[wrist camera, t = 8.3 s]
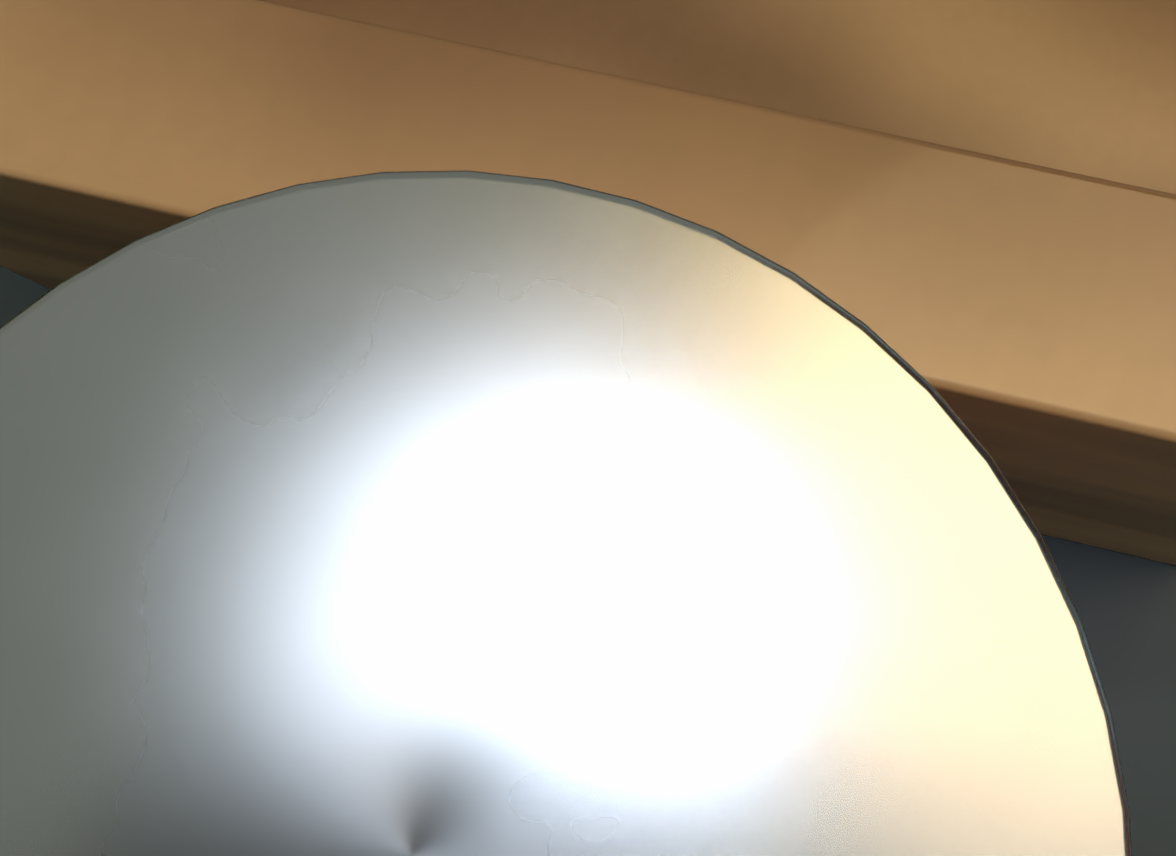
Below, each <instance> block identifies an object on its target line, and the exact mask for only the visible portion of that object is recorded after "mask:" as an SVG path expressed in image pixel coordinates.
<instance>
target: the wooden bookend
mask: <svg viewBox="0 0 1176 856" xmlns="http://www.w3.org/2000/svg"><path fill="white" fill-rule="evenodd" d="M457 170H470V171H479V172H488V173H497V174H506V175H515V176H524V177H533V178H542V179H551V180H556V181H560V182H564V183H568V184H572V185H577V186H581V187H585V188H589V189H593V190H597V191H601V192H605V193H609V194H614V195H618V196H622V197H626V198H630V199H634V200H638V201H640V202H643V203H645V204H648V205H651V206H653V207H656V208H658V209H661V210H664V211H666V212H669V213H671V214H674V215H677V216H679V217H682V218H684V219H687V220H690V221H692V222H695V223H697V224H700V225H703V226H705V227H708V228H711V229H713V230H716V231H718V232H720V233H722V234H724V235H725V236H727V237H729V238H731V239H733V240H735V241H737V242H738V243H740V244H742V245H744V246H746V247H748V248H750V249H751V250H753V251H755V252H757V253H759V254H761V255H763V256H764V257H766V258H768V259H770V260H772V261H774V262H776V263H777V264H779V265H781V266H783V267H785V268H787V269H789V270H790V271H792V272H794V273H796V274H797V275H798V276H800V277H801V278H803V279H804V280H805V281H807V282H808V283H810V284H811V285H812V286H814V287H815V288H817V289H818V290H819V291H821V292H822V293H823V294H825V295H826V296H828V297H829V298H830V299H832V300H833V301H835V302H836V303H837V304H839V305H840V306H842V307H843V308H844V309H846V310H847V311H849V312H850V313H851V314H853V315H854V316H856V317H857V318H858V319H860V320H861V321H862V322H864V323H865V324H867V325H868V326H869V327H870V328H871V329H872V330H873V331H874V332H875V333H876V334H877V335H879V336H880V337H881V338H882V339H883V340H884V341H885V342H886V343H887V344H888V345H889V346H890V347H891V348H892V349H894V350H895V351H896V352H897V353H898V354H899V355H900V356H901V357H902V358H903V359H904V360H905V361H906V362H907V363H909V364H910V365H911V366H912V367H913V368H914V369H915V370H916V371H917V372H918V373H919V374H920V375H921V376H922V377H924V378H925V379H926V380H927V381H928V382H929V383H930V384H931V385H932V386H933V387H934V388H935V389H936V391H937V392H938V393H939V394H940V395H941V397H942V398H943V399H944V400H945V401H946V403H947V404H948V405H949V406H950V407H951V409H952V410H953V411H954V412H955V413H956V415H957V416H958V417H959V418H960V419H961V421H962V422H963V423H964V424H965V425H966V427H967V428H968V429H969V430H970V431H971V433H972V434H973V435H974V436H975V437H976V439H977V440H978V441H979V442H980V444H981V445H982V446H983V447H984V448H985V450H986V451H987V452H988V453H989V454H990V456H991V457H992V458H993V460H994V462H995V463H996V465H997V466H998V468H999V469H1000V471H1001V473H1002V474H1003V476H1004V477H1005V479H1006V480H1007V482H1008V484H1009V485H1010V487H1011V488H1012V490H1013V491H1014V493H1015V495H1016V496H1017V498H1018V499H1019V501H1020V502H1021V504H1022V506H1023V507H1024V509H1025V510H1026V512H1027V513H1028V515H1029V517H1030V518H1031V520H1032V521H1033V523H1034V524H1035V526H1036V528H1037V529H1038V531H1039V532H1040V534H1044V535H1048V536H1052V537H1056V538H1061V539H1065V540H1069V541H1073V542H1078V543H1082V544H1086V545H1090V546H1095V547H1099V548H1103V549H1107V550H1112V551H1116V552H1120V553H1124V554H1129V555H1133V556H1137V557H1142V558H1146V559H1150V560H1154V561H1159V562H1163V563H1167V564H1171V565H1176V0H0V266H1V267H4V268H6V269H8V270H10V271H12V272H14V273H17V274H19V275H21V276H23V277H25V278H27V279H30V280H32V281H34V282H36V283H38V284H40V285H43V286H45V287H47V288H49V289H53V288H54V287H55V286H57V285H58V284H59V283H61V282H63V281H64V280H66V279H68V278H70V277H71V276H73V275H75V274H77V273H78V272H80V271H82V270H84V269H85V268H87V267H89V266H91V265H92V264H94V263H96V262H98V261H99V260H101V259H103V258H105V257H106V256H108V255H110V254H112V253H113V252H115V251H117V250H119V249H120V248H122V247H124V246H126V245H127V244H129V243H131V242H133V241H134V240H137V239H139V238H142V237H144V236H146V235H149V234H151V233H154V232H156V231H158V230H161V229H163V228H166V227H168V226H170V225H173V224H175V223H178V222H180V221H182V220H185V219H187V218H190V217H192V216H194V215H197V214H199V213H202V212H204V211H206V210H209V209H211V208H213V207H217V206H220V205H224V204H228V203H231V202H235V201H239V200H242V199H246V198H249V197H253V196H257V195H260V194H264V193H267V192H271V191H275V190H278V189H282V188H285V187H289V186H293V185H296V184H302V183H309V182H316V181H322V180H329V179H336V178H343V177H350V176H357V175H364V174H371V173H378V172H399V171H457Z"/></svg>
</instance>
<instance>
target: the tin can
mask: <svg viewBox="0 0 1176 856" xmlns="http://www.w3.org/2000/svg"><path fill="white" fill-rule="evenodd" d="M0 856H1132V849H1131V831H1130V814H1129V805H1128V799H1127V794H1126V789H1125V783H1124V778H1123V773H1122V768H1121V762H1120V757H1119V752H1118V746H1117V741H1116V736H1115V730H1114V725H1113V720H1112V714H1111V710H1110V707H1109V704H1108V701H1107V698H1106V695H1105V692H1104V689H1103V686H1102V682H1101V679H1100V676H1099V673H1098V670H1097V667H1096V664H1095V661H1094V658H1093V655H1092V651H1091V648H1090V645H1089V642H1088V639H1087V636H1086V633H1085V630H1084V627H1083V624H1082V621H1081V618H1080V616H1079V614H1078V612H1077V610H1076V608H1075V606H1074V604H1073V601H1072V599H1071V597H1070V595H1069V593H1068V591H1067V589H1066V587H1065V584H1064V582H1063V580H1062V578H1061V576H1060V574H1059V572H1058V570H1057V567H1056V565H1055V563H1054V561H1053V559H1052V557H1051V555H1050V553H1049V550H1048V548H1047V546H1046V544H1045V542H1044V540H1043V538H1042V536H1041V534H1040V532H1039V531H1038V529H1037V528H1036V526H1035V524H1034V523H1033V521H1032V520H1031V518H1030V517H1029V515H1028V513H1027V512H1026V510H1025V509H1024V507H1023V506H1022V504H1021V502H1020V501H1019V499H1018V498H1017V496H1016V495H1015V493H1014V491H1013V490H1012V488H1011V487H1010V485H1009V484H1008V482H1007V480H1006V479H1005V477H1004V476H1003V474H1002V473H1001V471H1000V469H999V468H998V466H997V465H996V463H995V462H994V460H993V458H992V457H991V456H990V454H989V453H988V452H987V451H986V450H985V448H984V447H983V446H982V445H981V444H980V442H979V441H978V440H977V439H976V437H975V436H974V435H973V434H972V433H971V431H970V430H969V429H968V428H967V427H966V425H965V424H964V423H963V422H962V421H961V419H960V418H959V417H958V416H957V415H956V413H955V412H954V411H953V410H952V409H951V407H950V406H949V405H948V404H947V403H946V401H945V400H944V399H943V398H942V397H941V395H940V394H939V393H938V392H937V391H936V389H935V388H934V387H933V386H932V385H931V384H930V383H929V382H928V381H927V380H926V379H925V378H924V377H922V376H921V375H920V374H919V373H918V372H917V371H916V370H915V369H914V368H913V367H912V366H911V365H910V364H909V363H907V362H906V361H905V360H904V359H903V358H902V357H901V356H900V355H899V354H898V353H897V352H896V351H895V350H894V349H892V348H891V347H890V346H889V345H888V344H887V343H886V342H885V341H884V340H883V339H882V338H881V337H880V336H879V335H877V334H876V333H875V332H874V331H873V330H872V329H871V328H870V327H869V326H868V325H867V324H865V323H864V322H862V321H861V320H860V319H858V318H857V317H856V316H854V315H853V314H851V313H850V312H849V311H847V310H846V309H844V308H843V307H842V306H840V305H839V304H837V303H836V302H835V301H833V300H832V299H830V298H829V297H828V296H826V295H825V294H823V293H822V292H821V291H819V290H818V289H817V288H815V287H814V286H812V285H811V284H810V283H808V282H807V281H805V280H804V279H803V278H801V277H800V276H798V275H797V274H796V273H794V272H792V271H790V270H789V269H787V268H785V267H783V266H781V265H779V264H777V263H776V262H774V261H772V260H770V259H768V258H766V257H764V256H763V255H761V254H759V253H757V252H755V251H753V250H751V249H750V248H748V247H746V246H744V245H742V244H740V243H738V242H737V241H735V240H733V239H731V238H729V237H727V236H725V235H724V234H722V233H720V232H718V231H716V230H713V229H711V228H708V227H705V226H703V225H700V224H697V223H695V222H692V221H690V220H687V219H684V218H682V217H679V216H677V215H674V214H671V213H669V212H666V211H664V210H661V209H658V208H656V207H653V206H651V205H648V204H645V203H643V202H640V201H638V200H634V199H630V198H626V197H622V196H618V195H614V194H609V193H605V192H601V191H597V190H593V189H589V188H585V187H581V186H577V185H572V184H568V183H564V182H560V181H556V180H551V179H542V178H533V177H524V176H515V175H506V174H497V173H488V172H479V171H470V170H457V171H399V172H378V173H371V174H364V175H357V176H350V177H343V178H336V179H329V180H322V181H316V182H309V183H302V184H296V185H293V186H289V187H285V188H282V189H278V190H275V191H271V192H267V193H264V194H260V195H257V196H253V197H249V198H246V199H242V200H239V201H235V202H231V203H228V204H224V205H220V206H217V207H213V208H211V209H209V210H206V211H204V212H202V213H199V214H197V215H194V216H192V217H190V218H187V219H185V220H182V221H180V222H178V223H175V224H173V225H170V226H168V227H166V228H163V229H161V230H158V231H156V232H154V233H151V234H149V235H146V236H144V237H142V238H139V239H137V240H134V241H133V242H131V243H129V244H127V245H126V246H124V247H122V248H120V249H119V250H117V251H115V252H113V253H112V254H110V255H108V256H106V257H105V258H103V259H101V260H99V261H98V262H96V263H94V264H92V265H91V266H89V267H87V268H85V269H84V270H82V271H80V272H78V273H77V274H75V275H73V276H71V277H70V278H68V279H66V280H64V281H63V282H61V283H59V284H58V285H57V286H55V287H54V288H53V289H51V290H50V291H49V292H47V293H46V294H45V295H43V296H42V297H41V298H39V299H38V300H37V301H35V302H34V303H33V304H31V305H30V306H29V307H27V308H26V309H25V310H23V311H22V312H21V313H19V314H18V315H17V316H15V317H14V318H13V319H11V320H10V321H9V322H7V323H6V324H5V325H3V326H2V327H1V328H0Z"/></svg>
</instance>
